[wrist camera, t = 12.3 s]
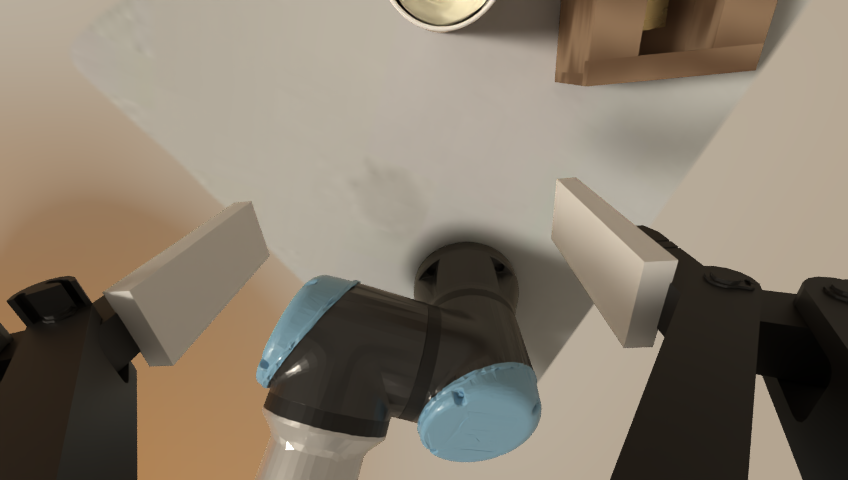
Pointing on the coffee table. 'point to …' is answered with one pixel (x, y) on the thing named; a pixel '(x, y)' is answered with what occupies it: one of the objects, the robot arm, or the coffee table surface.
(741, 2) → the box
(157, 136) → the coffee table surface
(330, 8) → the coffee table surface
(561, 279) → the coffee table surface
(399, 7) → the candle holder
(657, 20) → the yellow rectangular block
